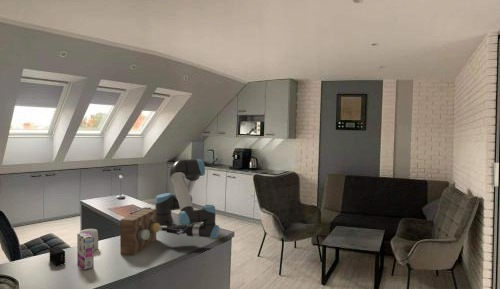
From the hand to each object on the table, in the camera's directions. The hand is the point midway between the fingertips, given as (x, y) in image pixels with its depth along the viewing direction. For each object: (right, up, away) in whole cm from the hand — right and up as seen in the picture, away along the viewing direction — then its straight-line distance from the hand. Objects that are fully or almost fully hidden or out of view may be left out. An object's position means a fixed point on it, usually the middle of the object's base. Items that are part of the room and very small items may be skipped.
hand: (158, 228), depth 199 cm
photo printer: (-38, -10, -11) cm, 41 cm away
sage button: (-4, -3, -13) cm, 14 cm away
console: (-10, -10, -5) cm, 15 cm away
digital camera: (-46, -11, -30) cm, 56 cm away
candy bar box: (-28, -11, -34) cm, 45 cm away
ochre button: (-2, -3, 0) cm, 3 cm away
